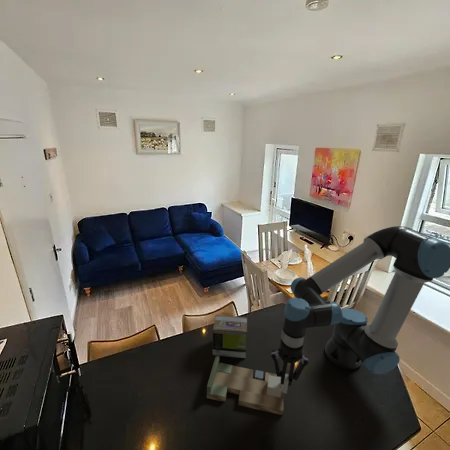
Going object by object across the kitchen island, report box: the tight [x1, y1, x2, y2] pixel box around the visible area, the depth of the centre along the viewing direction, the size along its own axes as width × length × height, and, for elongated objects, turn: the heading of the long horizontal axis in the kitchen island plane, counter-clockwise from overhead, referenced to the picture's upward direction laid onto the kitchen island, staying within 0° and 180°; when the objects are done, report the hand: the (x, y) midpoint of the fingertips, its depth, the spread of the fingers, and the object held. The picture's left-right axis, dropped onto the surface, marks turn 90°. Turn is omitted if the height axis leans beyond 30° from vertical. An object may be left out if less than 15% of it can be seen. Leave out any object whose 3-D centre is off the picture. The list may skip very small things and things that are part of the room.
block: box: [254, 369, 264, 381], centre depth 103 cm, size 3×3×3 cm
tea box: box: [212, 314, 248, 359], centre depth 115 cm, size 15×10×15 cm, turn 84°
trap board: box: [206, 355, 284, 416], centre depth 98 cm, size 28×14×6 cm, turn 78°
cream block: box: [267, 375, 282, 398], centre depth 96 cm, size 5×5×4 cm
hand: (284, 389), depth 95 cm, fingers closed
